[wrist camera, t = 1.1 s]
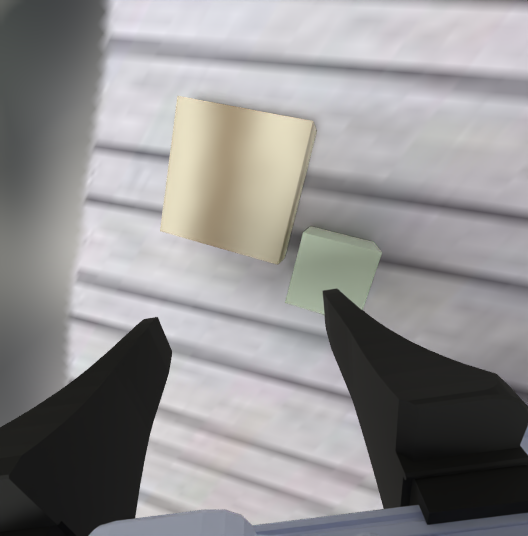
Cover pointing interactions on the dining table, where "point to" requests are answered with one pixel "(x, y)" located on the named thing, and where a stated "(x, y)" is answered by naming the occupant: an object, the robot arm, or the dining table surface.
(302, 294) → the sage cube
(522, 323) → the dining table surface
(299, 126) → the beige block
